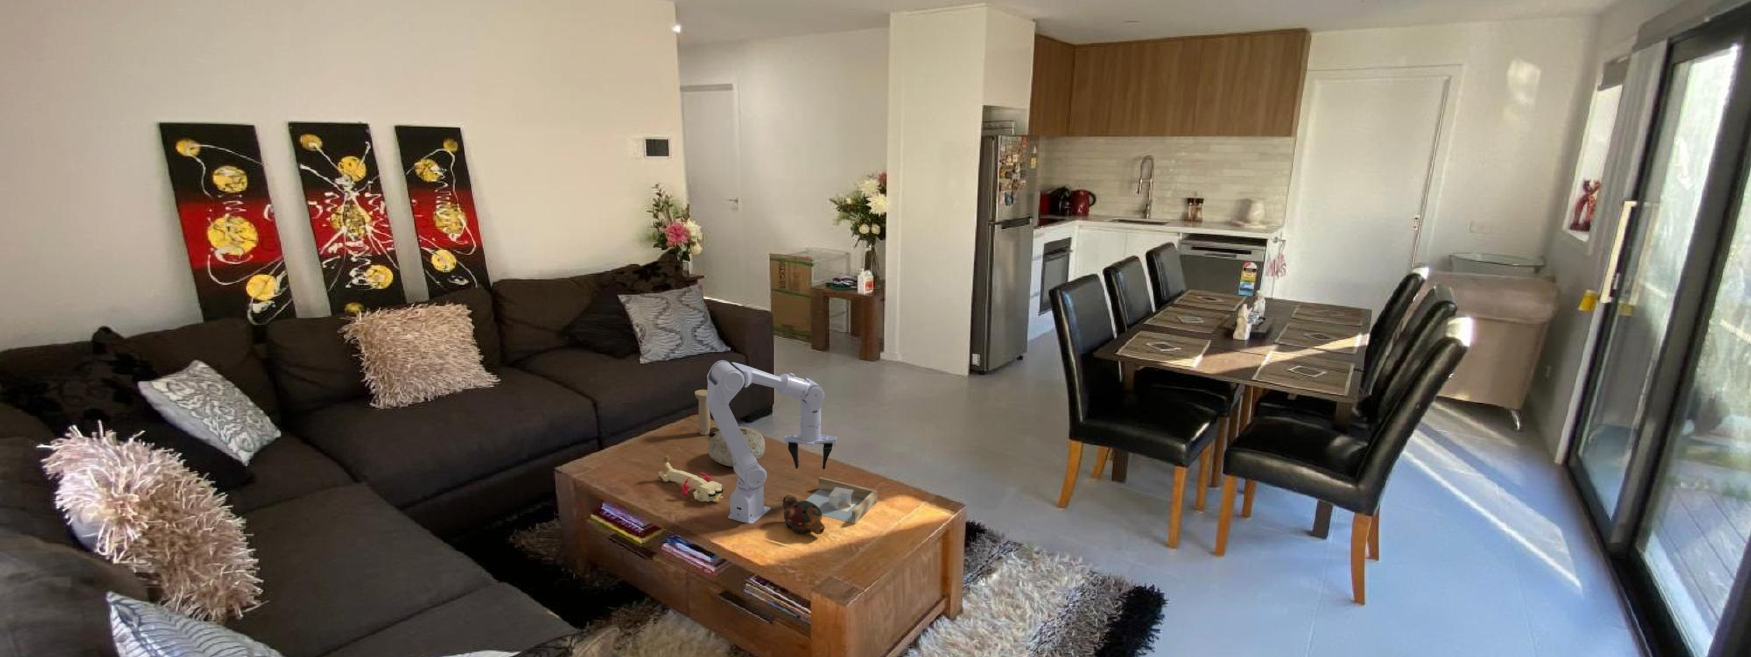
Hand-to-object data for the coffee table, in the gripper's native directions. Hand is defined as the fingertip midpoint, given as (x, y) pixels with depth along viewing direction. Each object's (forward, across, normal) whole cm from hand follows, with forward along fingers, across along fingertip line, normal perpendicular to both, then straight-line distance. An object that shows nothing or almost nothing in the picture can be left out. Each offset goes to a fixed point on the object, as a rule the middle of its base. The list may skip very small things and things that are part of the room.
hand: (810, 467), depth 215 cm
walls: (+10, +8, -5) cm, 13 cm away
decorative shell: (+10, -25, +24) cm, 36 cm away
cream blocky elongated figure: (+10, -35, +4) cm, 37 cm away
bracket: (+9, +9, -5) cm, 14 cm away
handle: (+10, -40, +45) cm, 61 cm away
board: (+10, +8, -5) cm, 13 cm away
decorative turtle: (+10, 0, -17) cm, 20 cm away
